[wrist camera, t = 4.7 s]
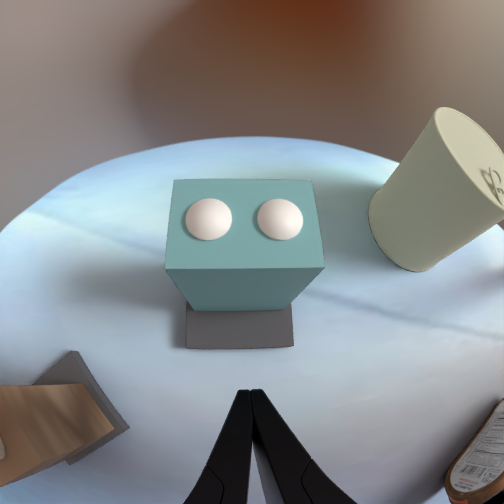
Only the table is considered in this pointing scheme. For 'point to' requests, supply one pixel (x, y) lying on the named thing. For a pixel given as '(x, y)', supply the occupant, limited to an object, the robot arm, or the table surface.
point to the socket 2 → (238, 329)
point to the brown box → (45, 427)
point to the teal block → (243, 242)
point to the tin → (479, 464)
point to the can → (439, 193)
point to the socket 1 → (77, 372)
